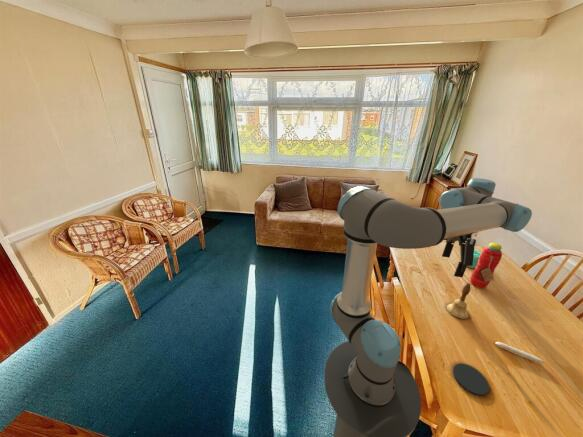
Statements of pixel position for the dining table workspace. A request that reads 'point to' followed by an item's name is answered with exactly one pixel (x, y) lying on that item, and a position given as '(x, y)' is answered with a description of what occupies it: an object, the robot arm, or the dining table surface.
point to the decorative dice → (475, 259)
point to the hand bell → (460, 304)
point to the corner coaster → (470, 379)
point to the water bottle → (486, 265)
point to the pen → (519, 352)
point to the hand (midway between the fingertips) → (451, 265)
